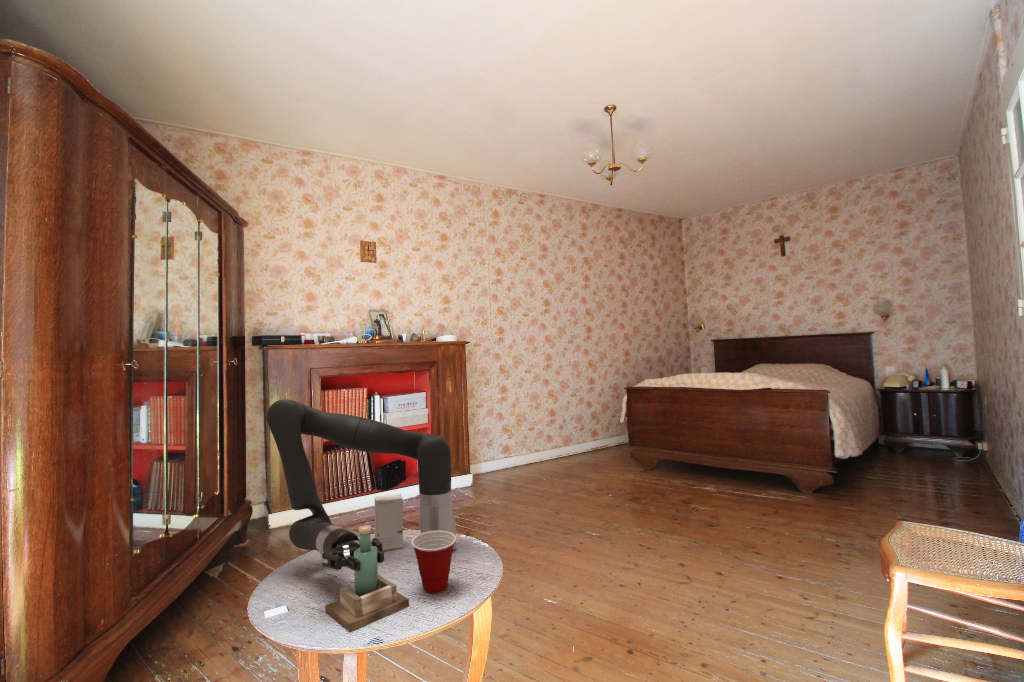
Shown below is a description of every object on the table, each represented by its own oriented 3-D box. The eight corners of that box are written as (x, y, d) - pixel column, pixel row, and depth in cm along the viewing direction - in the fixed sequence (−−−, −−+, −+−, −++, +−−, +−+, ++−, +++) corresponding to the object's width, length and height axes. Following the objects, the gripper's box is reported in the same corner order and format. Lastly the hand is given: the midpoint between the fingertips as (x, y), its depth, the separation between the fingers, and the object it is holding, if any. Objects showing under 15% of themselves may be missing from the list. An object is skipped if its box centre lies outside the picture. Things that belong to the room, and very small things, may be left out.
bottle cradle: (382, 589, 117) (381, 568, 118) (409, 605, 109) (408, 583, 109) (325, 612, 108) (324, 589, 108) (349, 631, 99) (349, 606, 99)
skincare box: (375, 552, 142) (373, 501, 143) (374, 545, 148) (373, 496, 148) (404, 547, 144) (402, 497, 145) (402, 541, 150) (401, 492, 151)
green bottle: (371, 588, 112) (369, 522, 113) (382, 595, 108) (380, 526, 109) (351, 596, 108) (349, 527, 109) (361, 603, 105) (359, 532, 106)
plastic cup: (414, 602, 110) (413, 549, 111) (411, 582, 120) (409, 533, 121) (461, 594, 113) (459, 542, 114) (454, 575, 124) (452, 527, 124)
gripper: (307, 536, 115) (338, 554, 102) (363, 521, 125) (398, 535, 112) (308, 568, 114) (339, 591, 102) (364, 550, 124) (399, 568, 112)
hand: (370, 562), depth 107 cm, fingers closed on green bottle, 5 cm apart
